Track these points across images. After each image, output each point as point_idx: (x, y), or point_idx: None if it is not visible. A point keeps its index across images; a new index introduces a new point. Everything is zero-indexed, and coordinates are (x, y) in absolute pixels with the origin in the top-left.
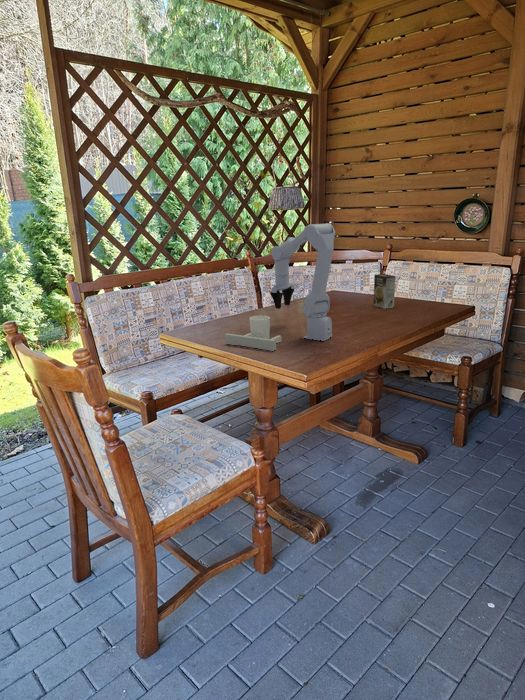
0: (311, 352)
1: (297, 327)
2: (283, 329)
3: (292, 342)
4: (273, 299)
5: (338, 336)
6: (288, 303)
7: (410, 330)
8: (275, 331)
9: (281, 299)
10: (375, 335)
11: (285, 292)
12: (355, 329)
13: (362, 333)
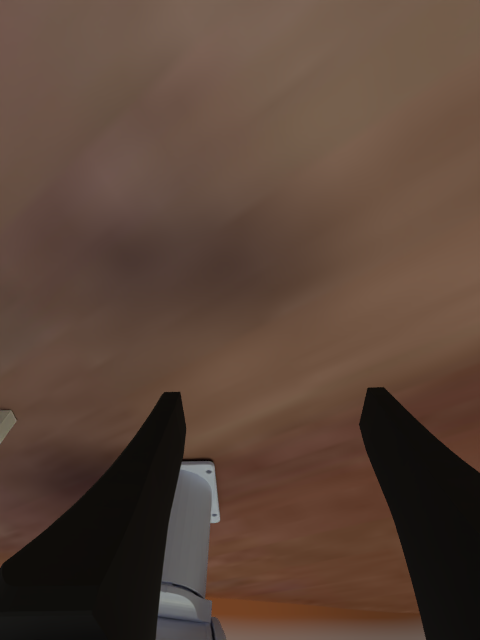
0: (9, 530)
1: (309, 358)
2: (227, 315)
3: (49, 453)
4: (99, 484)
5: (235, 525)
6: (366, 438)
7: (392, 607)
8: (156, 299)
9: (163, 542)
10: (300, 576)
11: (449, 559)
12: (359, 531)
13: (310, 554)
